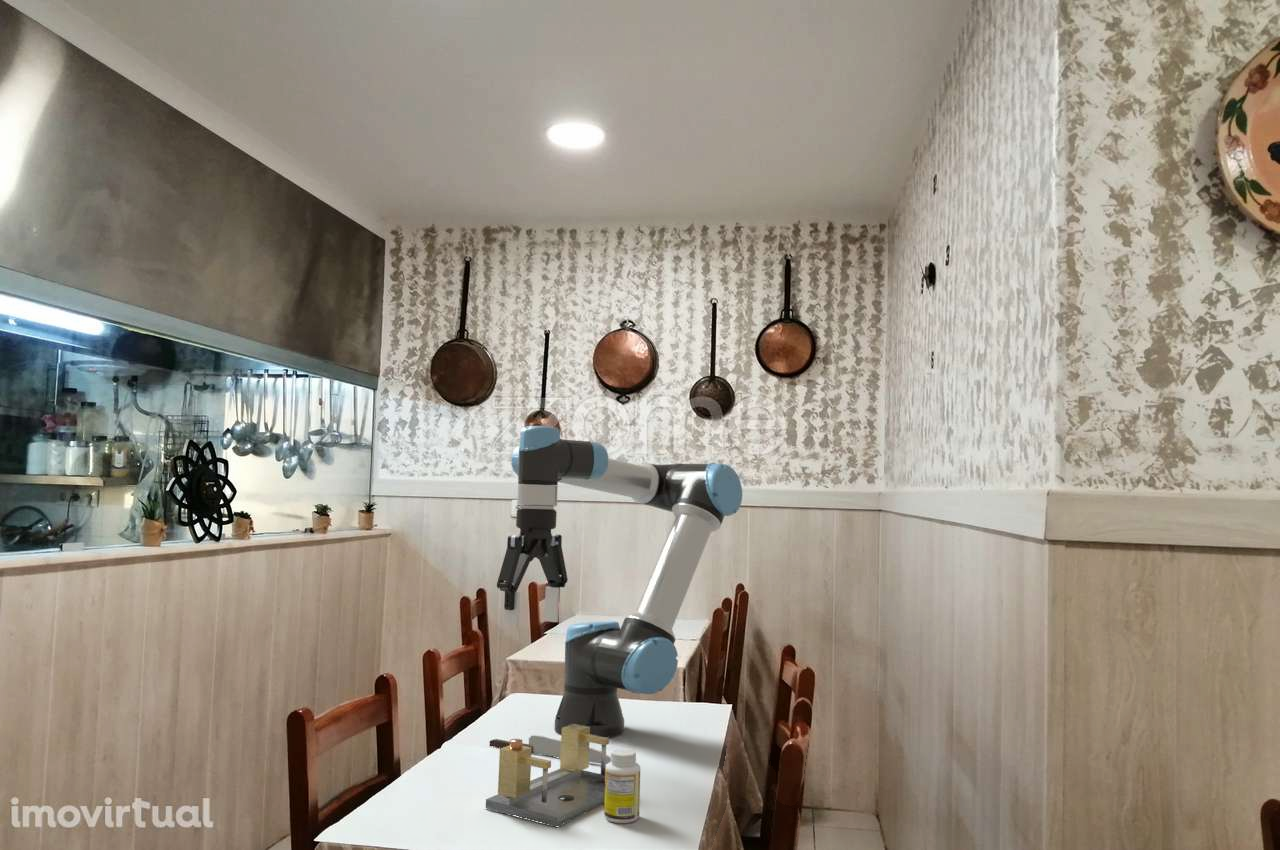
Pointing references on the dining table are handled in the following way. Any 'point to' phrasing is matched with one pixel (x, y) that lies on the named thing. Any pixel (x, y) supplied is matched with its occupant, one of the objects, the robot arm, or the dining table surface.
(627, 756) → the supplement bottle
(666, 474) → the robot arm
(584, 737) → the fixed leg
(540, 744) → the kitchen knife
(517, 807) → the bolt plate
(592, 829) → the dining table surface
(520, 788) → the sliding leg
